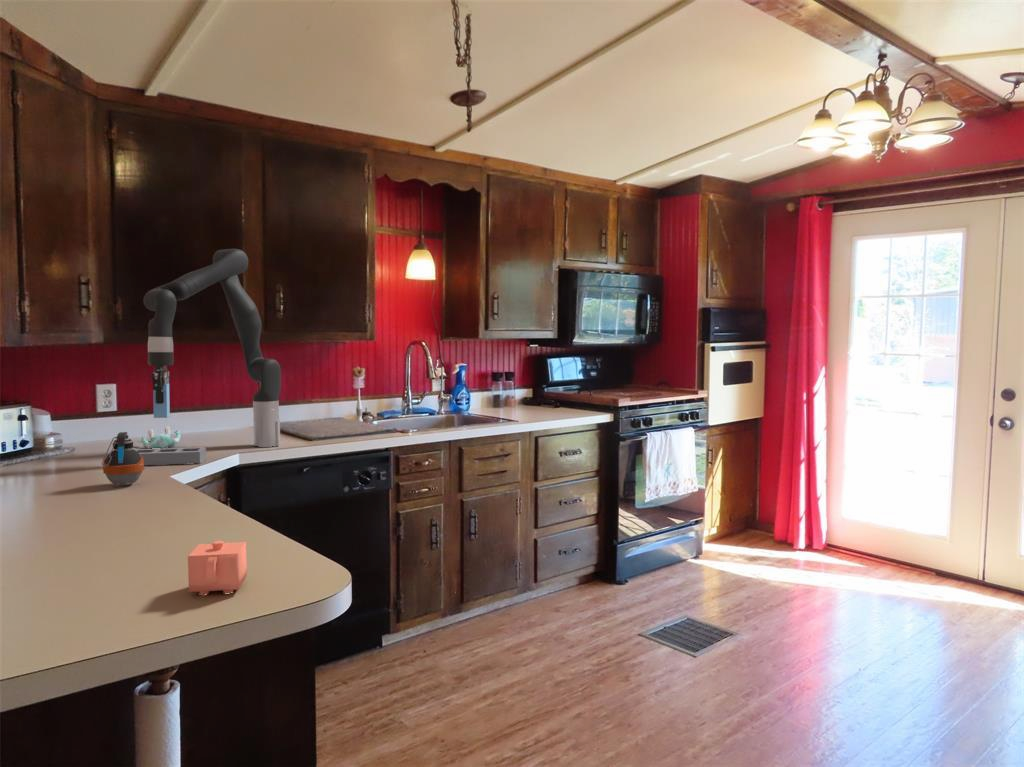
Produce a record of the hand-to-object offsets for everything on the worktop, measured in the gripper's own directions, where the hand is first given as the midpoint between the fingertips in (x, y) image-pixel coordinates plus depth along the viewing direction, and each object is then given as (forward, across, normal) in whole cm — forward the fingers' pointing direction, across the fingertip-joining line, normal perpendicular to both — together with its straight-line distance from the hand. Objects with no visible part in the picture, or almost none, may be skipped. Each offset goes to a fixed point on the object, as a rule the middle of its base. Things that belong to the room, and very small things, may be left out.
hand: (161, 402), depth 234 cm
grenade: (+21, -35, +2) cm, 41 cm away
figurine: (+20, +40, +9) cm, 45 cm away
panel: (+20, +1, -1) cm, 20 cm away
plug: (+5, 0, 0) cm, 5 cm away
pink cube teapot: (+22, -127, -37) cm, 134 cm away
